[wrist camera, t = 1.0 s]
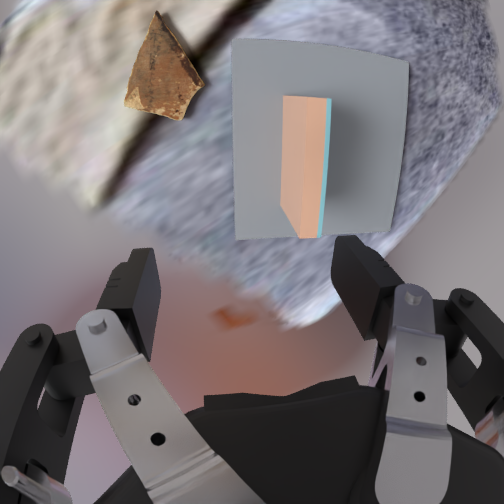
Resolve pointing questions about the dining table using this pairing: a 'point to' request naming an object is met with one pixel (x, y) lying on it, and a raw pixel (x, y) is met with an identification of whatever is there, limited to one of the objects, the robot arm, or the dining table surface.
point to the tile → (305, 162)
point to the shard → (162, 75)
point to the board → (341, 133)
